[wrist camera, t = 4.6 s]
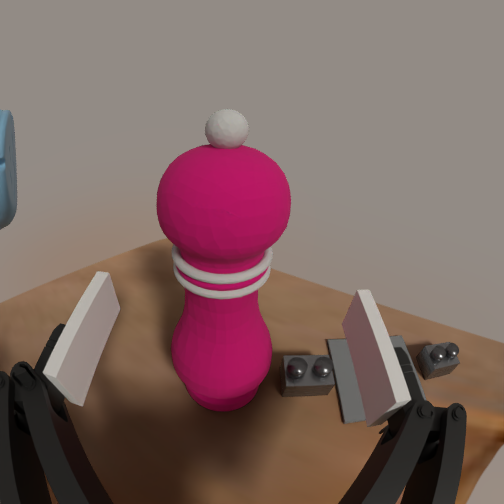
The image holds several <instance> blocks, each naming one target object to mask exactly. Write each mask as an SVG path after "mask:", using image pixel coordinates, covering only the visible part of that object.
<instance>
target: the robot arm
mask: <svg viewBox="0 0 504 504" xmlns="http://www.w3.org/2000/svg"><path fill="white" fill-rule="evenodd" d="M16 174H17V173H16V150H15V132H14V121H13V116H12V115H11V112H10V111H9V110H0V229H2V228H4V227H6V226H8V225H9V224H10V222H11V221H12V220H13V218H14V216H15V213H16V208H17V175H16ZM119 311H120V306H119V303H118V300H117V297H116V294H115V290H114V287H113V284H112V281H111V277H110V274H109V273H107V272H98V271H97V273H96V275H95V276H94V278H93V279H92V281H91V283H90V284H89V286H88V287H87V289H86V291H85V292H84V294H83V296H82V297H81V299H80V301H79V303H78V304H77V306H76V308H75V310H74V311H73V313H72V315H71V317H70V318H69V320H68V322H67V324H66V325H64V324H61V323H60V324H59V325H58V326H57V327H56V328H55V329H54V330H53V332H52V334H51V336H50V338H49V340H48V342H47V344H46V347H44V349H43V351H42V353H41V356H40V358H39V360H38V362H37V364H36V366H35V368H34V370H33V368H32V367H31V366H30V365H29V364H28V363H27V362H24V361H22V362H18V363H17V364H15V365H14V367H13V368H12V370H11V373H10V377H9V376H8V375H7V374H6V373H5V372H3V371H0V504H52V502H51V499H50V495H49V491H48V488H47V483H46V479H45V475H46V477H47V479H48V482H49V484H50V486H51V488H52V490H53V493H54V495H55V497H56V499H57V501H58V503H59V504H113V502H112V501H111V499H110V498H109V496H108V494H107V493H106V491H105V489H104V488H103V486H102V484H101V483H100V481H99V479H98V477H97V475H96V474H95V472H94V470H93V468H92V466H91V464H90V462H89V460H88V458H87V456H86V454H85V452H84V450H83V447H82V445H81V443H80V441H79V438H78V436H77V434H76V431H75V429H74V426H73V424H72V421H71V419H70V416H69V413H68V410H67V408H66V405H65V403H64V398H65V397H66V398H67V399H68V400H69V401H70V402H71V403H74V404H77V405H80V406H82V407H83V404H84V401H85V398H86V395H87V392H88V389H89V386H90V383H91V381H92V378H93V375H94V372H95V370H96V367H97V364H98V362H99V359H100V356H101V354H102V351H103V349H104V346H105V344H106V341H107V339H108V337H109V334H110V332H111V329H112V327H113V325H114V323H115V320H116V318H117V316H118V313H119ZM342 326H343V329H344V333H345V336H346V340H347V344H348V347H349V351H350V355H351V358H352V362H353V366H354V370H355V374H356V378H357V382H358V386H359V391H360V395H361V399H362V404H363V408H364V413H365V417H366V422H367V427H371V426H376V425H381V424H382V423H384V422H385V421H386V420H388V425H387V426H386V427H385V428H383V429H382V430H381V431H380V432H379V434H381V433H383V434H382V436H381V438H380V440H379V442H378V444H377V445H376V447H375V449H374V451H373V452H372V454H371V456H370V457H369V459H368V461H367V462H366V464H365V466H364V467H363V469H362V470H361V472H360V473H359V475H358V477H357V478H356V480H355V481H354V482H353V484H352V485H351V487H350V488H349V490H348V491H347V492H346V494H345V495H344V497H343V498H342V499H341V501H340V502H339V503H338V504H395V503H396V502H397V500H398V498H399V496H400V495H401V493H402V491H403V489H404V487H405V485H406V487H405V491H404V494H403V497H402V500H401V503H400V504H455V500H456V495H457V491H458V486H459V481H460V476H461V470H462V463H463V456H464V447H465V436H466V418H467V416H466V411H465V408H464V407H463V406H462V405H461V404H459V403H453V404H452V405H450V406H449V407H448V408H442V407H434V406H433V405H432V404H431V403H430V402H429V401H426V400H424V398H423V396H422V393H421V390H420V387H419V385H418V382H417V379H416V376H415V373H414V372H413V368H412V365H410V364H411V363H410V360H409V358H408V355H407V354H406V352H405V351H404V350H403V349H402V347H393V345H392V343H391V340H390V338H389V335H388V332H387V330H386V327H385V325H384V323H383V320H382V318H381V315H380V313H379V311H378V308H377V306H376V304H375V301H374V299H373V297H372V295H371V292H370V290H357V292H356V294H355V296H354V298H353V301H352V303H351V305H350V307H349V310H348V312H347V314H346V316H345V319H344V321H343V323H342ZM44 472H45V475H44Z"/></svg>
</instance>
